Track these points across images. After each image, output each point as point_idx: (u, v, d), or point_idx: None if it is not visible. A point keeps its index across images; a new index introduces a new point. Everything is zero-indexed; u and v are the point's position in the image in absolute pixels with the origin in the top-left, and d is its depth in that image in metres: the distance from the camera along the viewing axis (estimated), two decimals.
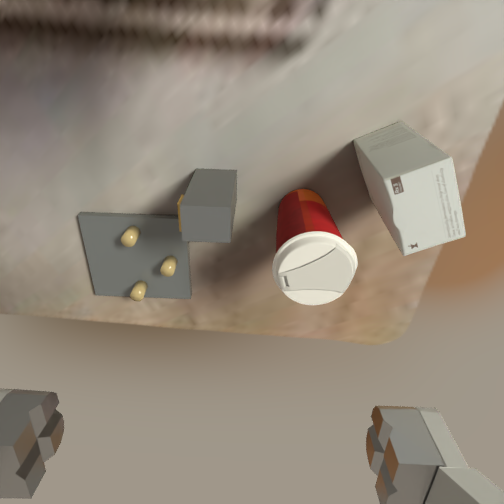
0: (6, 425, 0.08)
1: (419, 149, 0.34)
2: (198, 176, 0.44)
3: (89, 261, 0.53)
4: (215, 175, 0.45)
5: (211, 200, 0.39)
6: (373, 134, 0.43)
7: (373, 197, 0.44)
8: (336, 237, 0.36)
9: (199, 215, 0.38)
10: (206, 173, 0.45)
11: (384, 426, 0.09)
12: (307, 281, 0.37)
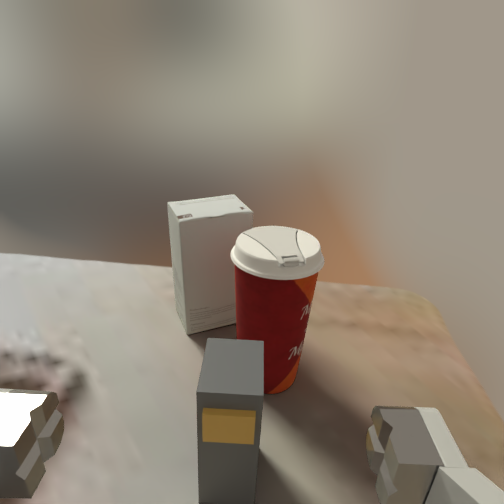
0: (6, 425, 0.08)
1: (171, 237, 0.42)
2: None
3: None
4: None
5: None
6: (181, 316, 0.45)
7: None
8: None
9: (216, 369, 0.24)
10: None
11: (384, 426, 0.09)
12: (286, 245, 0.32)
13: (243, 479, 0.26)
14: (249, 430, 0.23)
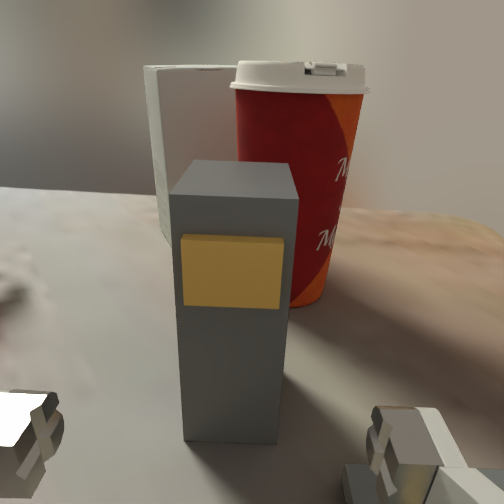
0: (6, 425, 0.08)
1: (150, 116, 0.32)
2: None
3: None
4: None
5: None
6: (166, 229, 0.34)
7: None
8: None
9: (208, 179, 0.13)
10: None
11: (384, 426, 0.09)
12: None
13: (259, 392, 0.15)
14: (271, 275, 0.12)
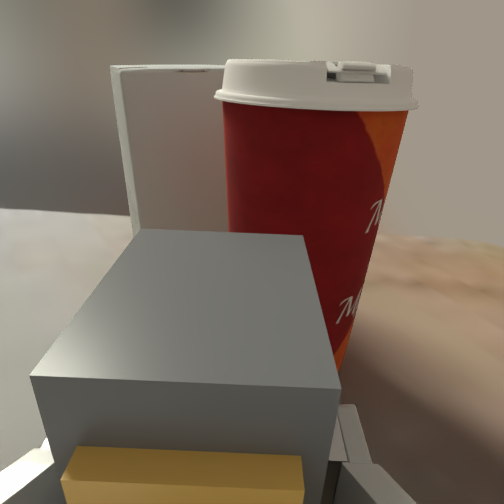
0: None
1: (119, 129, 0.25)
2: None
3: None
4: None
5: None
6: None
7: None
8: None
9: (146, 298, 0.07)
10: None
11: None
12: None
13: None
14: None
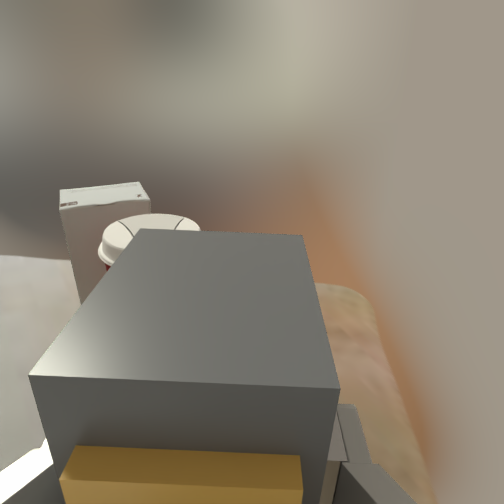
0: None
1: None
2: None
3: None
4: None
5: None
6: None
7: None
8: None
9: (145, 298, 0.07)
10: None
11: None
12: None
13: None
14: None
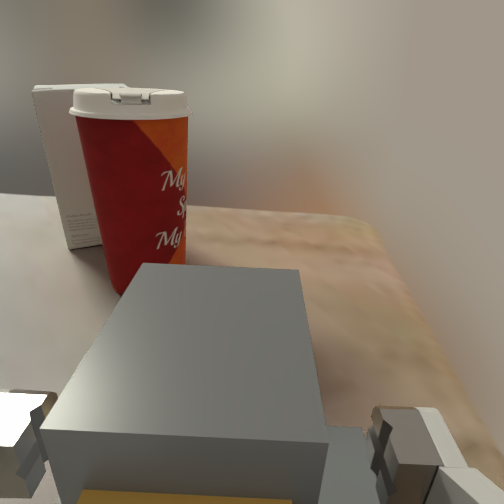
0: (6, 425, 0.08)
1: None
2: None
3: None
4: None
5: None
6: None
7: None
8: None
9: (147, 343, 0.07)
10: None
11: (384, 426, 0.09)
12: (137, 91, 0.25)
13: None
14: None
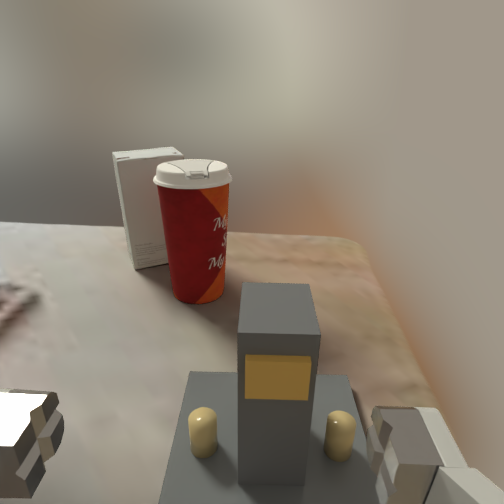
0: (6, 425, 0.08)
1: (117, 183, 0.49)
2: None
3: None
4: None
5: None
6: (130, 255, 0.52)
7: None
8: None
9: (258, 311, 0.20)
10: None
11: (384, 426, 0.09)
12: (197, 167, 0.39)
13: (292, 450, 0.21)
14: (303, 381, 0.19)
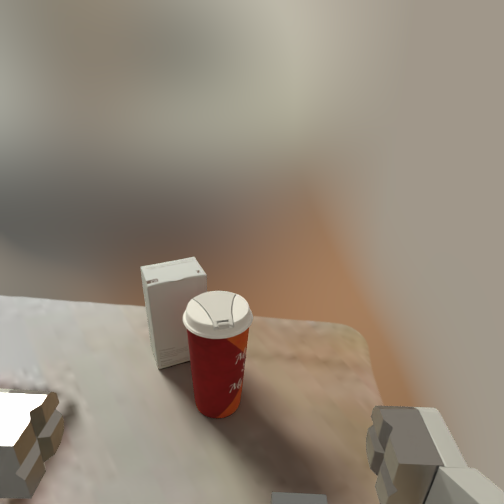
0: (6, 425, 0.08)
1: (144, 293, 0.54)
2: None
3: None
4: None
5: None
6: (154, 354, 0.57)
7: None
8: None
9: None
10: None
11: (384, 426, 0.09)
12: (222, 310, 0.44)
13: None
14: None
